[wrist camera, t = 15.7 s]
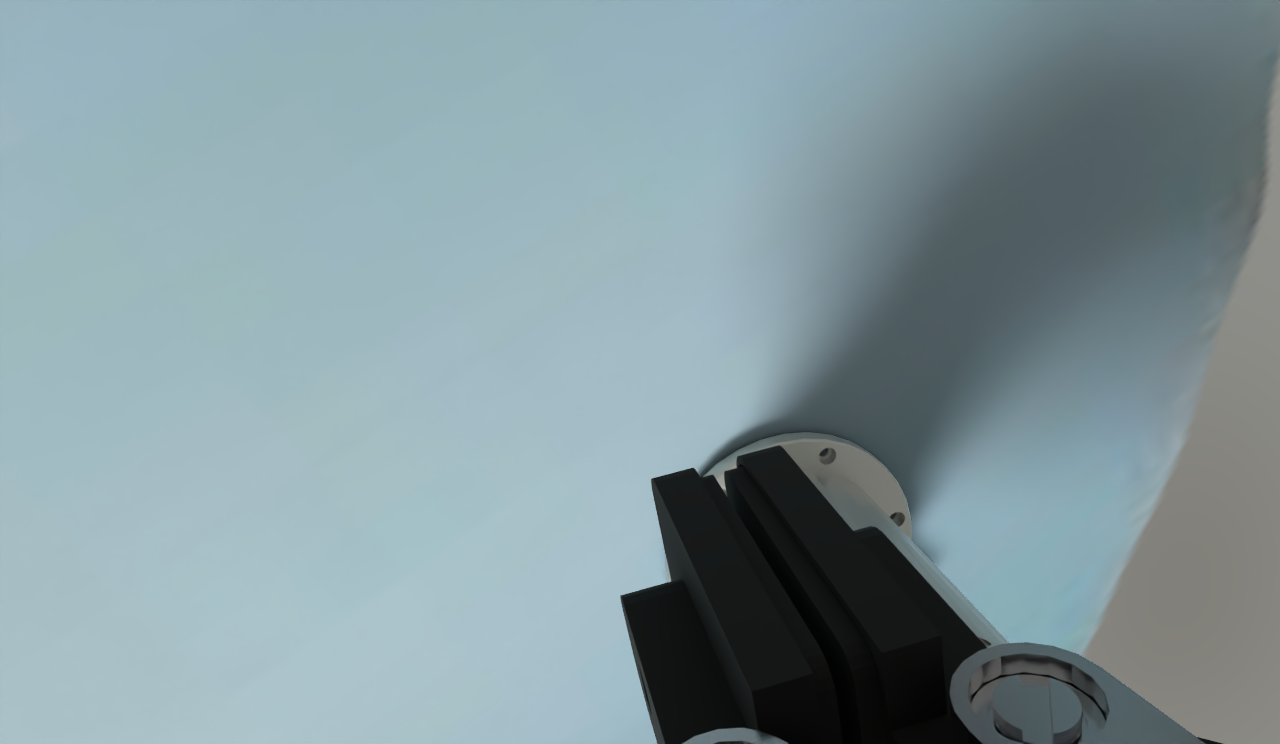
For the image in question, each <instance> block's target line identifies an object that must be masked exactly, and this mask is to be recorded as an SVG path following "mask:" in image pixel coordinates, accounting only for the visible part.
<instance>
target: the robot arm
mask: <svg viewBox="0 0 1280 744" xmlns="http://www.w3.org/2000/svg"><path fill="white" fill-rule="evenodd" d="M822 450H823V451H822ZM821 451H822V452H821ZM651 483H652V490H653V496H654V501H655V505H656V510H657V515H658V520H659V525H660V529H661V534H662V539H663V544H664V549H665V553H666V564H665V565H666V572H667V579H668V583H664V584H661V585H657V586H654V587H650V588H646V589H643V590H639V591H636V592H632V593H629V594H625V595H621V603H622V607H623V612H624V616H625V620H626V625H627V629H628V633H629V637H630V642H631V646H632V650H633V654H634V658H635V662H636V666H637V670H638V674H639V678H640V682H641V686H642V690H643V694H644V697H645V701H646V705H647V708H648V712H649V716H650V719H651V723H652V726H653V730H654V733H655V737H656V740H657V743H658V744H1222V743H1218V742H1214V741H1210V740H1206V739H1202V738H1199V737H1196V736H1194V735H1193V734H1192V733H1190V732H1189V731H1187V730H1186V729H1185V728H1183V727H1182V726H1180V725H1179V724H1178V723H1177V722H1175V721H1174V720H1172V719H1171V718H1169V717H1168V716H1167V715H1165V714H1164V713H1163V712H1161V711H1160V710H1159V709H1157V708H1156V707H1155V706H1153V705H1152V704H1151V703H1149V702H1148V701H1146V700H1145V699H1144V698H1142V697H1141V696H1140V695H1138V694H1137V693H1135V692H1134V691H1133V690H1131V689H1130V688H1129V687H1127V686H1126V685H1125V684H1123V683H1122V682H1120V681H1119V680H1118V679H1116V678H1115V677H1114V676H1112V675H1111V674H1110V673H1108V672H1107V671H1105V670H1104V669H1103V668H1101V667H1100V666H1098V665H1096V664H1094V663H1093V662H1091V661H1089V660H1087V659H1086V658H1084V657H1082V656H1080V655H1079V654H1076V653H1073V652H1070V651H1067V650H1064V649H1061V648H1058V647H1055V646H1050V645H1043V644H1035V643H1027V642H1025V643H1009V642H1008V641H1007V640H1006V639H1005V638H1004V637H1003V636H1002V635H1001V634H1000V633H999V632H998V631H997V630H996V629H995V627H994V626H993V625H992V624H991V623H990V622H989V621H988V620H987V619H986V618H985V617H984V616H983V615H982V614H981V613H980V612H979V611H978V610H977V609H976V608H975V606H974V605H973V604H972V603H971V602H970V601H969V600H968V599H967V598H966V597H965V596H964V595H963V594H962V593H961V592H960V591H959V590H958V589H957V588H956V587H955V585H954V584H953V583H952V582H951V581H950V580H949V579H948V578H947V577H946V576H945V575H944V574H943V573H942V572H941V571H940V570H939V569H938V568H937V567H936V565H935V564H934V563H933V562H932V561H931V560H930V559H929V558H928V557H927V556H926V555H925V554H924V553H923V552H922V551H921V550H920V549H919V548H918V547H917V546H916V544H915V543H914V542H913V541H912V527H911V515H910V511H909V507H908V503H907V499H906V497H905V495H904V493H903V491H902V489H901V487H900V485H899V483H898V481H897V480H896V479H895V477H894V476H893V475H892V474H891V473H890V471H889V470H888V469H887V468H886V467H885V465H883V464H882V463H881V462H880V461H879V460H878V459H877V458H876V457H874V456H873V455H872V454H871V453H870V452H868V451H867V450H865V449H863V448H862V447H860V446H858V445H857V444H855V443H853V442H852V441H849V440H846V439H843V438H840V437H836V436H833V435H830V434H821V433H813V432H800V433H786V434H781V435H777V436H773V437H769V438H765V439H761V440H759V441H756V442H754V443H752V444H750V445H747V446H745V447H743V448H741V449H739V450H737V451H735V452H734V453H732V454H731V455H729V456H728V457H726V458H725V459H723V460H722V461H720V462H719V463H717V464H716V465H715V466H714V467H713V468H712V469H711V470H710V471H709V472H707V473H706V474H705V475H704V476H703V477H701V478H700V477H699V475H698V473H697V472H696V470H695V469H694V468H690V469H687V470H683V471H679V472H675V473H672V474H668V475H664V476H660V477H656V478H653V479H651Z"/></svg>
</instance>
